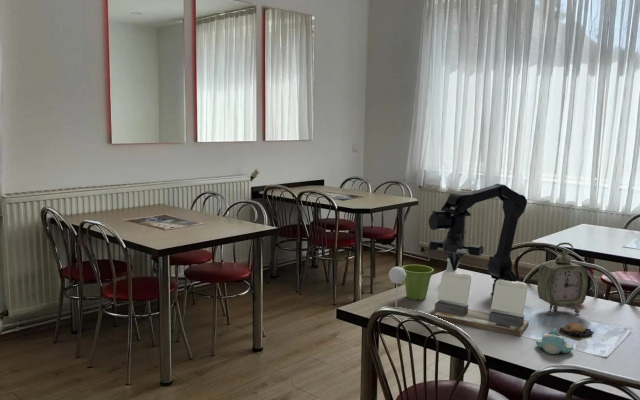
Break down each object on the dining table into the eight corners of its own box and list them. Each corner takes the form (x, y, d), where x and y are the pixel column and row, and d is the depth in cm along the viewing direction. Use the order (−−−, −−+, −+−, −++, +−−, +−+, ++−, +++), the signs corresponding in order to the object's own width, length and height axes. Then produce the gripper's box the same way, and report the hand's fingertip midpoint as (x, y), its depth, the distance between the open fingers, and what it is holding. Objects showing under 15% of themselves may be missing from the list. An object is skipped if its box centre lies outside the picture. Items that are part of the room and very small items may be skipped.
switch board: (440, 308, 206) (441, 296, 206) (528, 324, 191) (529, 312, 190) (428, 317, 196) (429, 305, 195) (520, 336, 181) (520, 323, 180)
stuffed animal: (577, 329, 173) (572, 334, 163) (575, 352, 173) (570, 359, 163) (539, 322, 179) (532, 326, 168) (537, 345, 178) (530, 351, 168)
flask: (460, 286, 234) (461, 261, 232) (442, 285, 234) (443, 261, 232) (456, 281, 241) (458, 257, 239) (439, 280, 241) (440, 257, 240)
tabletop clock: (547, 317, 198) (553, 245, 195) (532, 308, 207) (537, 240, 203) (585, 315, 201) (591, 244, 198) (568, 306, 210) (574, 239, 206)
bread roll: (578, 343, 178) (579, 331, 177) (553, 334, 185) (554, 323, 184) (597, 335, 184) (598, 324, 183) (573, 327, 191) (574, 316, 190)
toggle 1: (438, 299, 201) (444, 271, 203) (467, 305, 196) (472, 275, 198) (436, 298, 199) (442, 270, 202) (465, 304, 194) (470, 274, 196)
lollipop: (406, 306, 207) (408, 266, 205) (402, 311, 202) (403, 269, 199) (390, 304, 209) (391, 263, 207) (385, 309, 204) (386, 267, 202)
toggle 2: (492, 309, 192) (497, 279, 194) (523, 315, 186) (528, 284, 189) (490, 308, 190) (495, 278, 192) (522, 314, 185) (527, 283, 187)
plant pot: (429, 304, 210) (431, 274, 209) (397, 300, 214) (398, 270, 213) (434, 294, 221) (436, 266, 220) (404, 291, 225) (405, 263, 224)
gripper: (424, 229, 207) (422, 271, 209) (475, 235, 197) (473, 279, 200) (435, 224, 216) (433, 264, 219) (485, 229, 207) (482, 272, 209)
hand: (454, 270), depth 211 cm, fingers closed
